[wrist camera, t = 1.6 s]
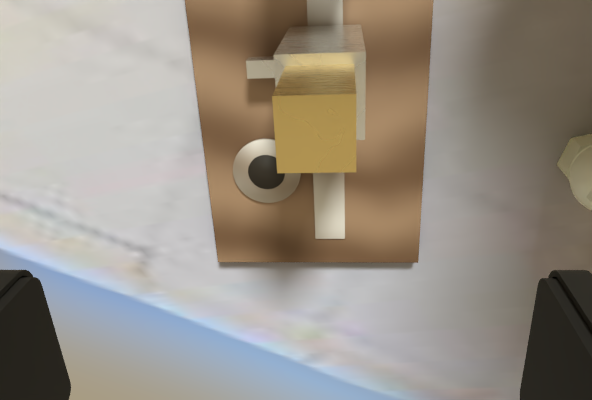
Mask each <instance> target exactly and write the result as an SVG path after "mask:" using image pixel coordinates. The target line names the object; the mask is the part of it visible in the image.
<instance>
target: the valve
mask: <svg viewBox="0 0 592 400" xmlns="http://www.w3.org/2000/svg"><path fill="white" fill-rule="evenodd" d="M557 166H558V167H559V168H560V170H561V171H562V172H563V173H564V174H565V176H566V177H567V178H568V179H569V182H570V187H571V190H572V193H573V195H574V196H575V198H576V199H577V200H578V201H579V203H580V204H582V205H583V206H584V207H585V208H587V209H589V210H591V211H592V134H587V135H582V136H577V137H573V138H571V139H570V141H569V142H568V144H567V146H566V148H565V150H564V152H563V153H562V155H561V157H560V159H559V161H558V163H557Z"/></svg>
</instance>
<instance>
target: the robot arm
mask: <svg viewBox="0 0 592 400" xmlns="http://www.w3.org/2000/svg"><path fill="white" fill-rule="evenodd" d="M70 391H71V384H70V379H69V376H68V373H67V369H66V366H65V363H64V359H63V356H62V352H61V349H60V345H59V342H58V339H57V335H56V332H55V328H54V325H53V322H52V318H51V315H50V312H49V308H48V305H47V301H46V298H45V295H44V291H43V288H42V285H41V282H40V280H39V279H38V278H35V277H33V275H32V274H31V273H30V272H29V271H27V270H0V400H69V396H70ZM520 400H592V274H591V273H590V272H589V271H586V270H554V271H552V272H551V273H550V275H549V278H542V279H540V281H539V283H538V288H537V294H536V300H535V306H534V312H533V318H532V323H531V329H530V335H529V341H528V347H527V353H526V359H525V365H524V371H523V377H522V383H521V389H520Z"/></svg>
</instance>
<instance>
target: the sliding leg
mask: <svg viewBox="0 0 592 400" xmlns="http://www.w3.org/2000/svg"><path fill="white" fill-rule="evenodd" d="M246 68H247V79H256V78H275V86H276V88H275V91H274V93H273V95H272V102H273V117H274V132H275V147H276V162H277V173H342V172H356V140H365V90H366V50H365V45H364V39H363V34H362V28H361V24H357V25H330V26H304V27H290V28H289V29H288V31H287V33H286V34H285V36H284V38H283V40H282V41H281V43H280V45H279V46H278V48H277V50H276V51H275V53H274V56H272V57H248V59H247V60H246Z"/></svg>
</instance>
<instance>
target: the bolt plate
mask: <svg viewBox="0 0 592 400" xmlns="http://www.w3.org/2000/svg"><path fill="white" fill-rule="evenodd" d="M185 4H186V12H187V20H188V28H189V35H190V43H191V51H192V59H193V67H194V75H195V83H196V90H197V98H198V106H199V114H200V122H201V130H202V138H203V145H204V153H205V161H206V169H207V177H208V185H209V193H210V200H211V208H212V216H213V224H214V232H215V240H216V248H217V255H218V262H418V255H419V238H420V220H421V203H422V186H423V169H424V152H425V134H426V117H427V100H428V83H429V65H430V48H431V31H432V14H433V0H185ZM357 24H361V28H362V34H363V39H364V45H365V50H366V90H365V140H356V172H342V173H277V162H276V147H275V132H274V117H273V102H272V95H273V93H274V91H275V88H276V86H275V78H256V79H247V68H246V60H247V59H248V57H272V56H274V53H275V51H276V50H277V48H278V46H279V45H280V43H281V41H282V40H283V38H284V36H285V34H286V33H287V31H288V29H289V28H290V27H304V26H330V25H357Z"/></svg>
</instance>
